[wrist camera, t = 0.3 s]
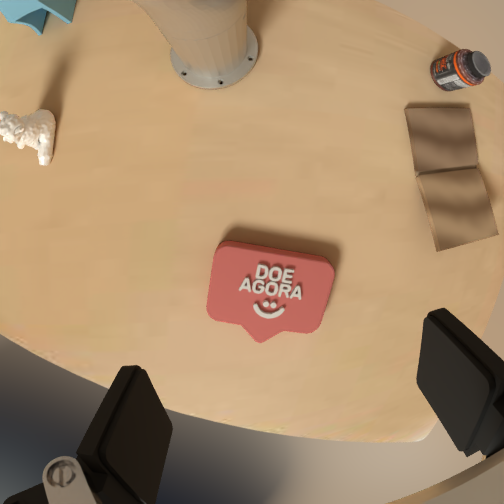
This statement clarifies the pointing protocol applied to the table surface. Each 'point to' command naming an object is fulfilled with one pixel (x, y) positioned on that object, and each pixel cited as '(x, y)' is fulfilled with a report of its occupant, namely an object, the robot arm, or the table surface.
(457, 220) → the plank
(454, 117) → the brown wooden board
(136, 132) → the table surface
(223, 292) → the plaque
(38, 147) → the white creature statuette
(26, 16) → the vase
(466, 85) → the supplement bottle
